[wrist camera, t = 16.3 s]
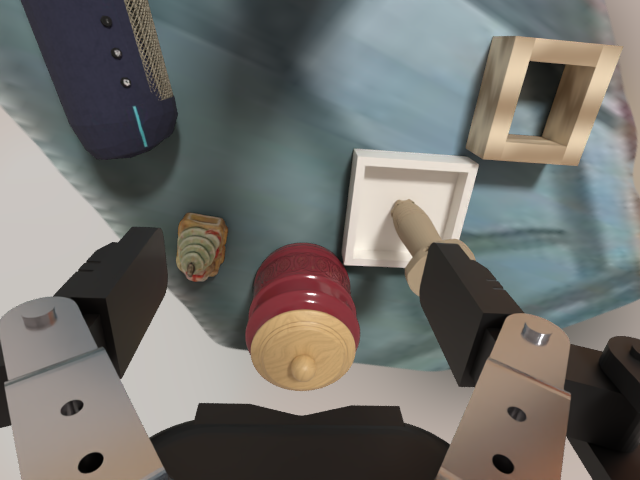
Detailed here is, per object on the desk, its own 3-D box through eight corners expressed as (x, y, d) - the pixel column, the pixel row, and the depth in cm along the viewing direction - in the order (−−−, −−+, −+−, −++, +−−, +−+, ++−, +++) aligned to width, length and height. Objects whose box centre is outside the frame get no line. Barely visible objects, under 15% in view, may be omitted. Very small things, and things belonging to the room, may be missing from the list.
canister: (342, 232, 52) (361, 316, 36) (353, 311, 58) (374, 412, 42) (245, 248, 52) (222, 338, 37) (266, 324, 58) (254, 430, 42)
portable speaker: (196, 137, 46) (172, 160, 37) (111, 148, 46) (66, 174, 37) (121, -154, 34) (60, -222, 25) (7, -139, 34) (-94, -201, 25)
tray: (353, 148, 47) (357, 156, 44) (467, 156, 48) (479, 164, 45) (341, 251, 53) (344, 265, 50) (442, 256, 54) (450, 269, 51)
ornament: (228, 266, 53) (214, 311, 45) (181, 262, 53) (158, 307, 44) (230, 212, 50) (215, 250, 41) (180, 207, 49) (154, 244, 40)
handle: (434, 210, 50) (483, 272, 37) (390, 236, 51) (422, 305, 38) (416, 180, 48) (461, 234, 35) (371, 208, 50) (398, 271, 36)
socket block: (493, 36, 42) (516, 36, 38) (589, 45, 43) (623, 46, 39) (465, 147, 48) (482, 159, 43) (551, 154, 49) (577, 165, 44)
